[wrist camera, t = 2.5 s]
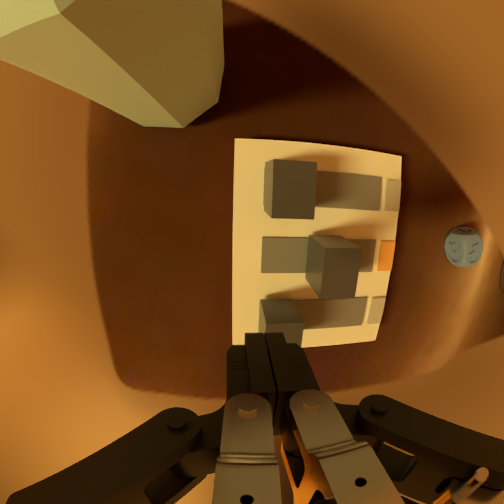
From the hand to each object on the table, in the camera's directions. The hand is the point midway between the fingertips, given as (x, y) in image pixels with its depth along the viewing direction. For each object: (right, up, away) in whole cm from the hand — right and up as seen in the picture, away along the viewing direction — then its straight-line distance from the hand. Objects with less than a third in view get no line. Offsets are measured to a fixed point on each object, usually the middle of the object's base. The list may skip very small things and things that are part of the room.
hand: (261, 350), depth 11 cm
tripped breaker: (+6, +4, +14) cm, 15 cm away
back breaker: (+2, -2, +15) cm, 15 cm away
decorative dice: (+26, +5, +18) cm, 32 cm away
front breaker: (+2, +9, +12) cm, 15 cm away
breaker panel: (+6, +4, +17) cm, 18 cm away
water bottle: (-8, +20, +12) cm, 24 cm away
